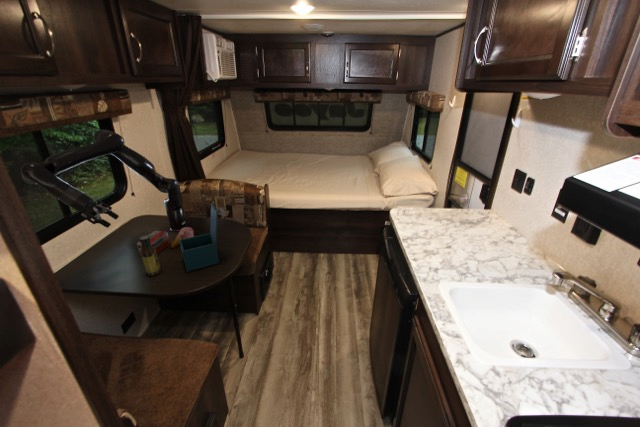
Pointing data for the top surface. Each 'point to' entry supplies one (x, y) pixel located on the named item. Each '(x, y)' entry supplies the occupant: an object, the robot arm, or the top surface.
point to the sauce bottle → (149, 256)
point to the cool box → (199, 251)
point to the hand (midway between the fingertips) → (113, 221)
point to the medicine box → (157, 241)
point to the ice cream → (183, 235)
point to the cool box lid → (215, 221)
